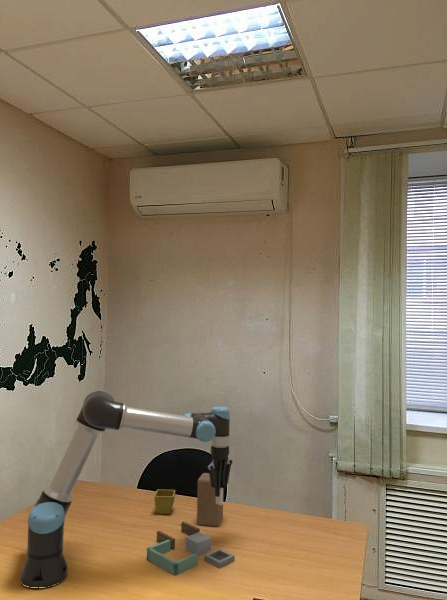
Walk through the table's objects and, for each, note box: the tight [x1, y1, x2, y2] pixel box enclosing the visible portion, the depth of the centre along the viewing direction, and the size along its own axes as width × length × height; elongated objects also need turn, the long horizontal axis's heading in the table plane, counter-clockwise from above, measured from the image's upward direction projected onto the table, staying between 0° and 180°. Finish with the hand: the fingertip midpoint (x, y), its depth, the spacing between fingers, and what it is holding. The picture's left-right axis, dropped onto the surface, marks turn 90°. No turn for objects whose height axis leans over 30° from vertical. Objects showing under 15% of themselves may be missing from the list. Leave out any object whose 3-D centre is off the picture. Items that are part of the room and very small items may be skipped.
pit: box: [204, 548, 236, 569], centre depth 181 cm, size 8×8×2 cm
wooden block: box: [196, 472, 224, 528], centre depth 216 cm, size 10×10×20 cm
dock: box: [146, 540, 198, 577], centre depth 179 cm, size 10×16×4 cm, turn 46°
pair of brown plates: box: [156, 521, 201, 551], centre depth 197 cm, size 14×10×4 cm
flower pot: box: [153, 489, 176, 515], centre depth 226 cm, size 9×9×9 cm
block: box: [184, 531, 212, 557], centre depth 189 cm, size 7×7×5 cm
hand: (219, 503), depth 198 cm, fingers closed
